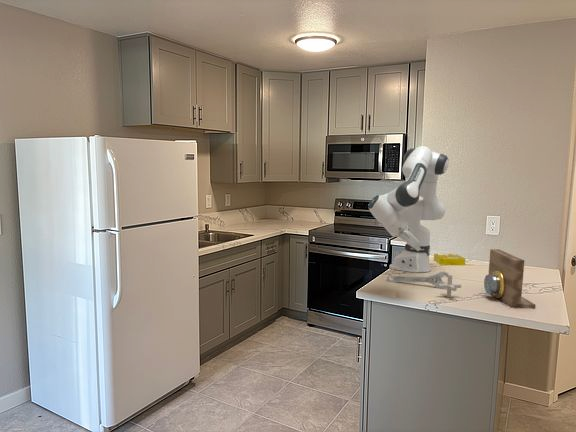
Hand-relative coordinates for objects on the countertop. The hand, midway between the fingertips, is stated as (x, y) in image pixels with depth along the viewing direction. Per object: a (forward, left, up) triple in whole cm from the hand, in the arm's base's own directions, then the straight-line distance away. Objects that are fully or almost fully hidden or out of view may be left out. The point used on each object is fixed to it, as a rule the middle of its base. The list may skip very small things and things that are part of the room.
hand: (418, 249), depth 193 cm
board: (+37, +17, -21) cm, 46 cm away
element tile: (+3, +84, -22) cm, 86 cm away
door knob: (+30, +14, -20) cm, 39 cm away
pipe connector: (+13, +6, -21) cm, 26 cm away
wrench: (-3, +19, -21) cm, 29 cm away
